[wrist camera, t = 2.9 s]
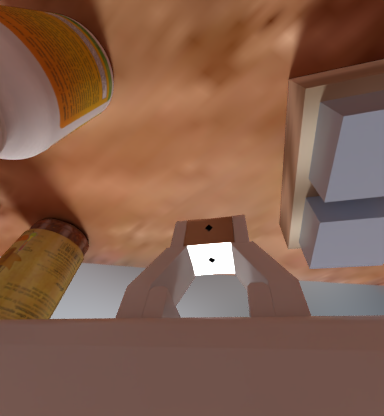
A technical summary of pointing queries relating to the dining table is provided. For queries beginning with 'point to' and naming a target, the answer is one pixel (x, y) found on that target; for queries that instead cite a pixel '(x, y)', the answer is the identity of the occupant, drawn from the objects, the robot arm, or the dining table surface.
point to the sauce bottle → (39, 269)
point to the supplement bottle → (47, 80)
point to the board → (305, 132)
